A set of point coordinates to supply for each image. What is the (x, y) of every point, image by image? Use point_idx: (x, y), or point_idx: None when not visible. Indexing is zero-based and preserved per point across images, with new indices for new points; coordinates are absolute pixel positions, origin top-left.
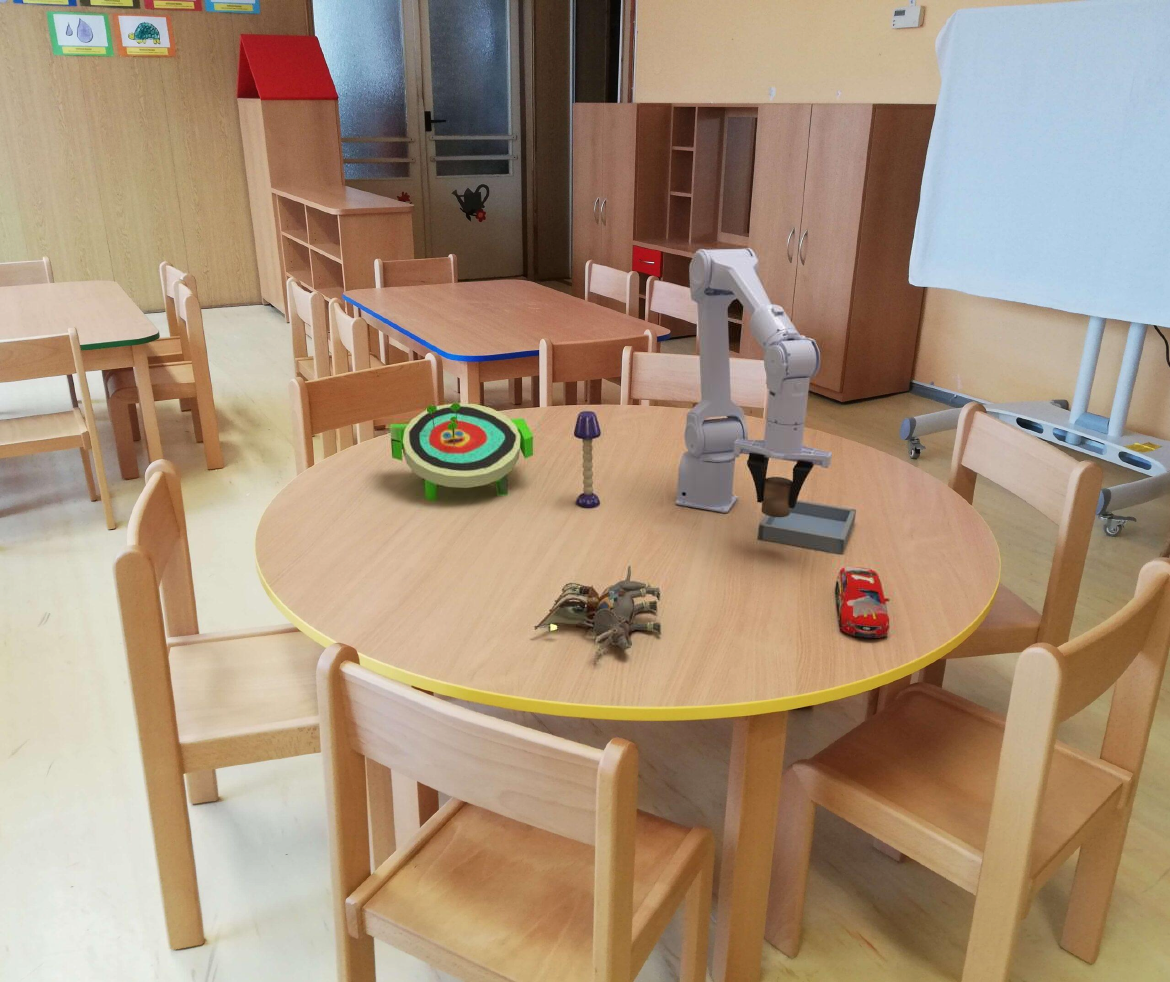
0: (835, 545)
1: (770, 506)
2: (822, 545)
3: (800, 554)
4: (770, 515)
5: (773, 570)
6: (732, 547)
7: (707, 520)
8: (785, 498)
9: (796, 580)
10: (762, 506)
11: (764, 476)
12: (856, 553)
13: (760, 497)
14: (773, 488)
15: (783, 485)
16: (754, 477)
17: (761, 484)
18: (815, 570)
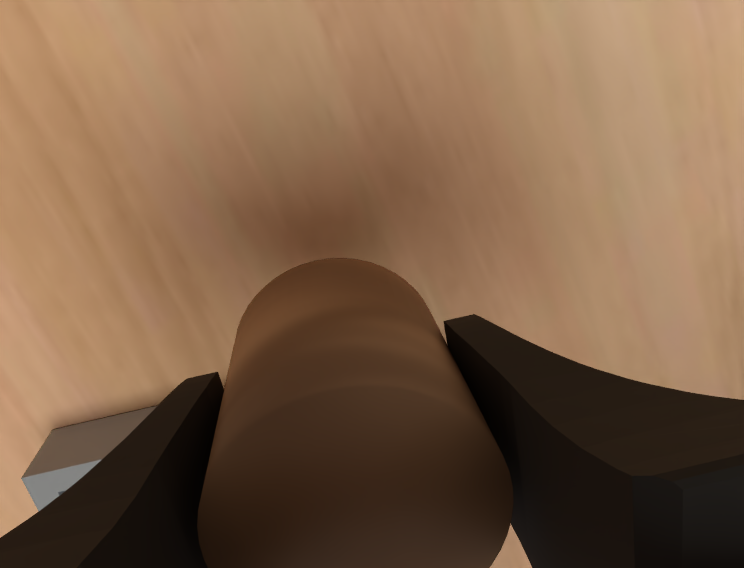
0: (75, 444)
1: (345, 286)
2: (138, 422)
3: (201, 314)
4: (332, 261)
5: (215, 58)
6: (502, 184)
7: (695, 371)
8: (232, 381)
9: (54, 15)
10: (425, 308)
11: (536, 525)
12: (10, 473)
13: (463, 327)
14: (348, 371)
15: (271, 473)
16: (621, 386)
17: (505, 388)
18: (48, 197)
